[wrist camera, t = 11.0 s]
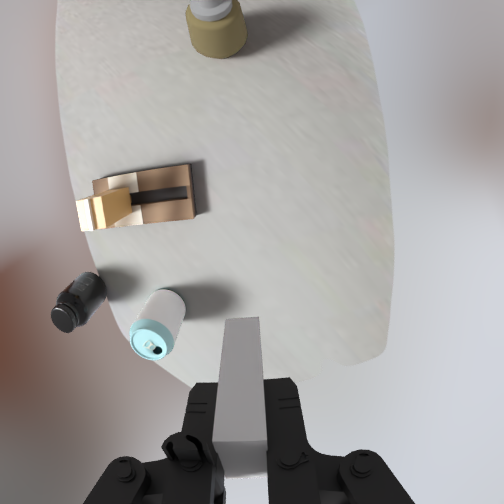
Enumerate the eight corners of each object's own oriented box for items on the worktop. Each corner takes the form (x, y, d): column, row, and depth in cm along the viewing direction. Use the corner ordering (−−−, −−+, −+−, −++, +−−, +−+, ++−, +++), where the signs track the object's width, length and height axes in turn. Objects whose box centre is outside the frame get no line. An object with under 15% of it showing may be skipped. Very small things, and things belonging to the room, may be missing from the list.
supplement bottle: (73, 285, 48) (40, 316, 36) (88, 263, 46) (53, 292, 35) (97, 309, 49) (69, 344, 38) (114, 289, 48) (84, 324, 37)
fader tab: (132, 185, 41) (98, 197, 30) (135, 210, 42) (104, 229, 32) (110, 189, 41) (73, 202, 30) (114, 213, 42) (79, 232, 32)
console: (190, 163, 41) (187, 164, 39) (196, 215, 44) (193, 218, 41) (99, 179, 41) (91, 180, 39) (106, 225, 44) (99, 229, 41)
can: (186, 289, 48) (169, 329, 37) (186, 323, 50) (173, 366, 39) (147, 285, 48) (122, 322, 36) (150, 319, 50) (129, 360, 39)
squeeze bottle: (197, 23, 33) (171, -36, 16) (248, 23, 34) (249, -41, 17) (193, 66, 36) (160, 18, 19) (246, 65, 36) (245, 13, 19)
